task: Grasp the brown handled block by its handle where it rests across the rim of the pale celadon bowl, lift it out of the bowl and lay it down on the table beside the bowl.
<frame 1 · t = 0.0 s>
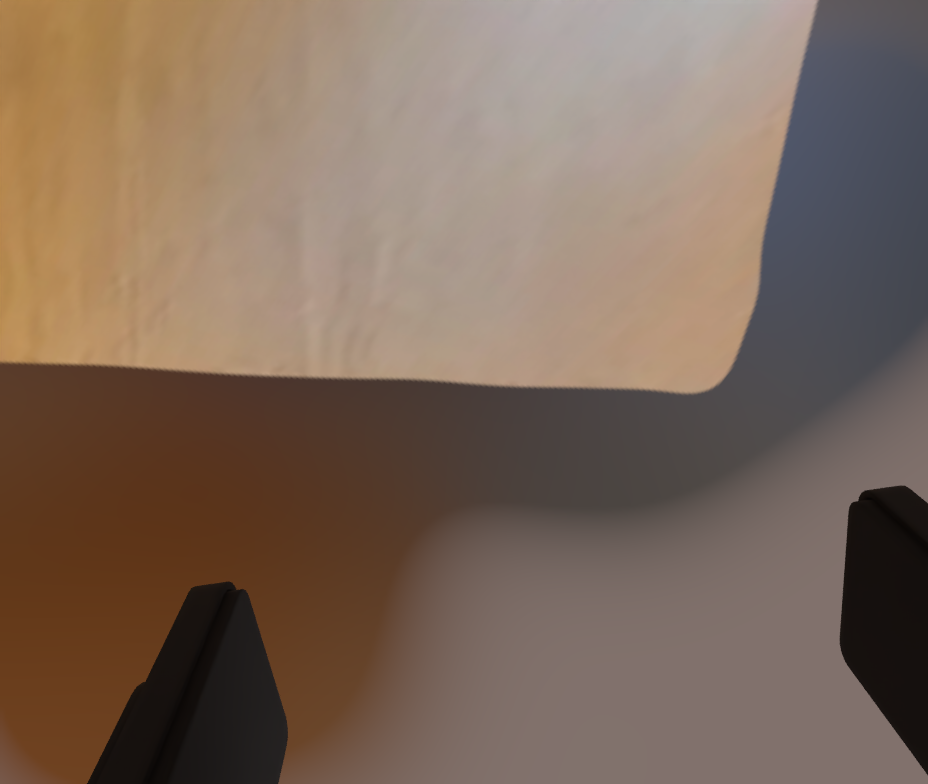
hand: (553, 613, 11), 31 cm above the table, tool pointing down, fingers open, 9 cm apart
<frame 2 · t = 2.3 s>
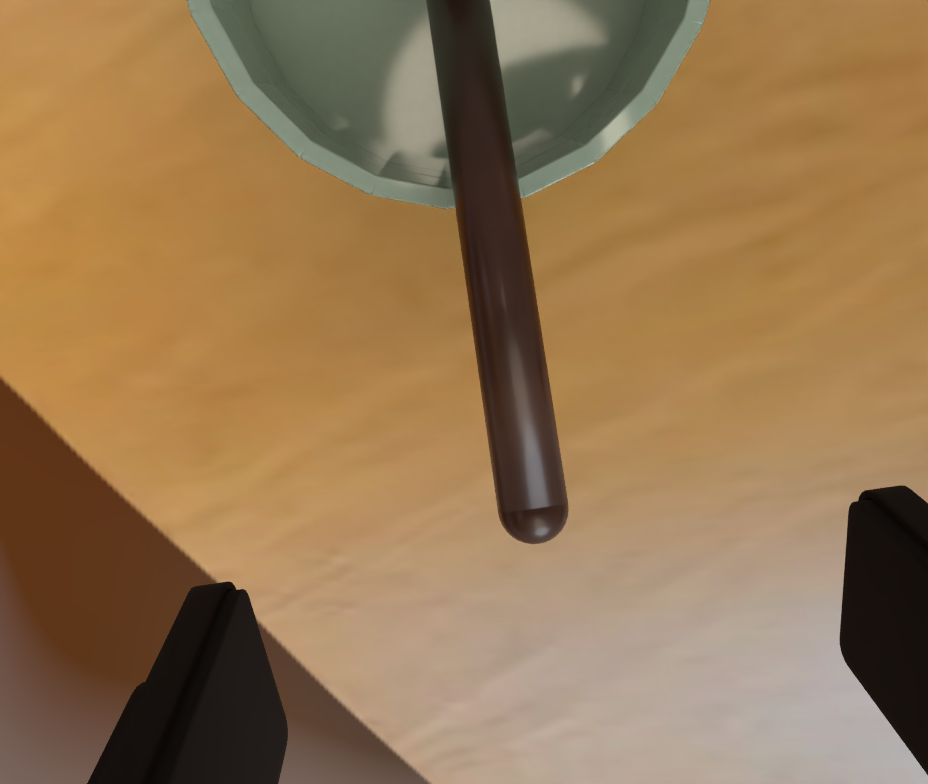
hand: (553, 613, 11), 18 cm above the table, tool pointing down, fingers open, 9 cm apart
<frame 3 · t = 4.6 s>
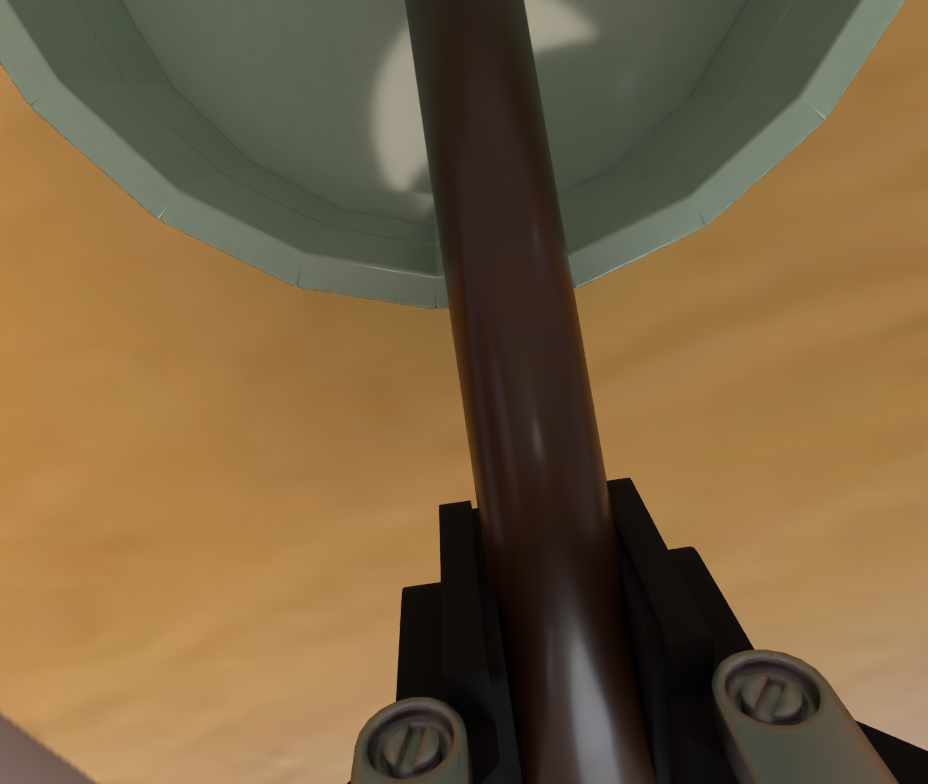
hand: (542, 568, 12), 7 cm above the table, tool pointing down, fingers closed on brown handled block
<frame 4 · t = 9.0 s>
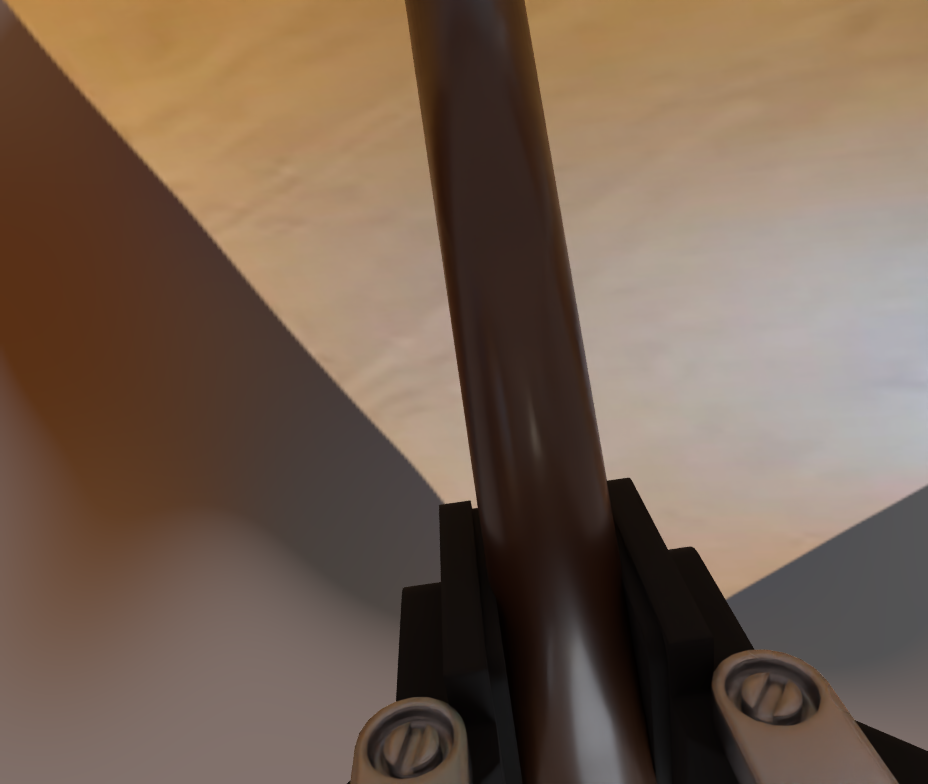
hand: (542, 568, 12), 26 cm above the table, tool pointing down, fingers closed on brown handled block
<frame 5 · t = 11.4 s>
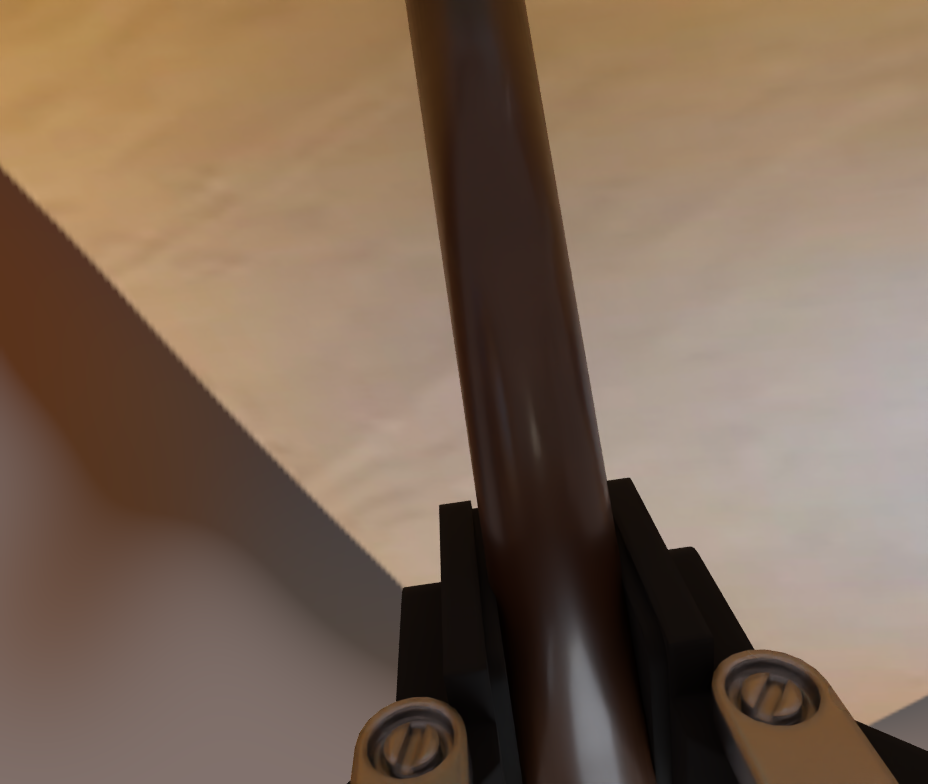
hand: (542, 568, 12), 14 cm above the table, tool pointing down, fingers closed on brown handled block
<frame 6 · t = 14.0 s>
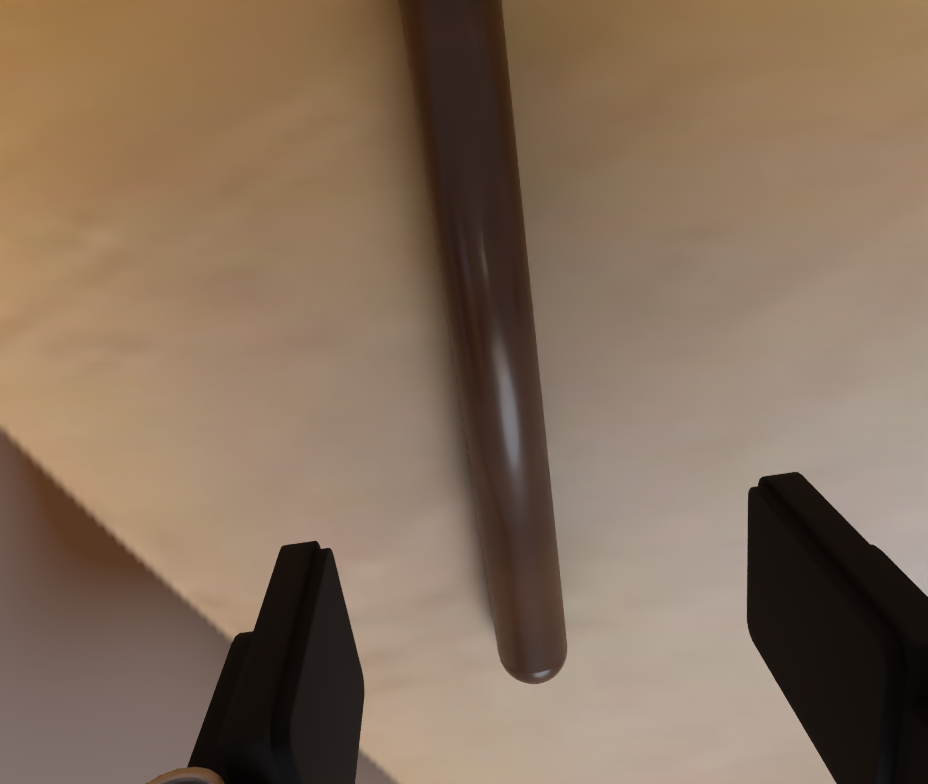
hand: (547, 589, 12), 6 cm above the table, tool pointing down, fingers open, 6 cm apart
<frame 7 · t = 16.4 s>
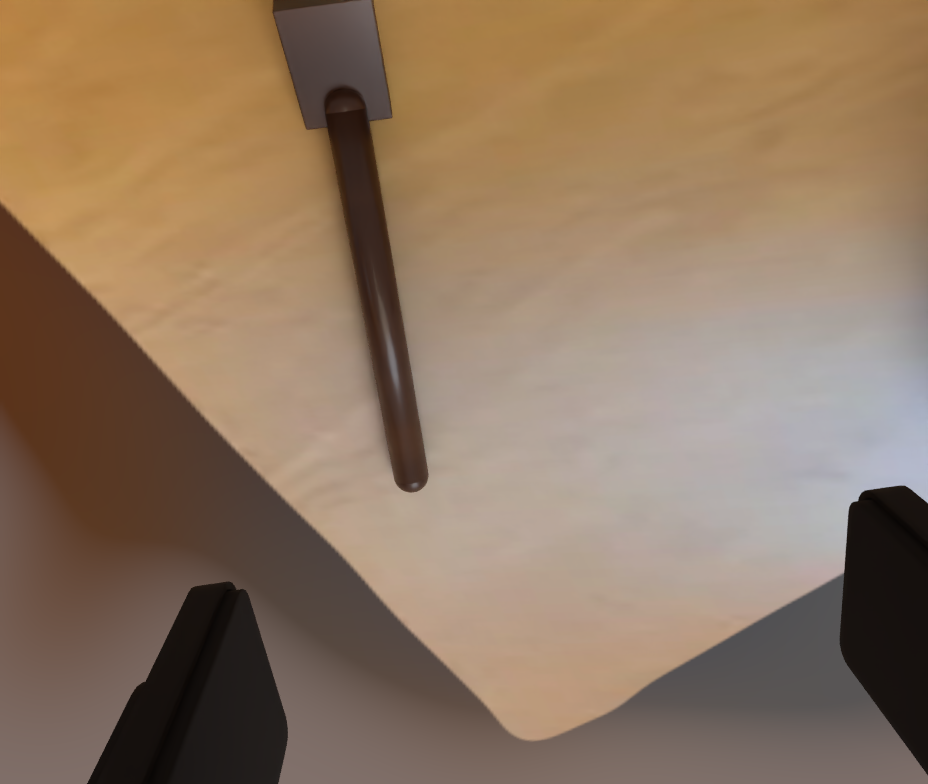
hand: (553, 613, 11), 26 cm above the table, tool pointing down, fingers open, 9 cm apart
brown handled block: (336, 55, 31), point 1 cm above the table, tilted 33°
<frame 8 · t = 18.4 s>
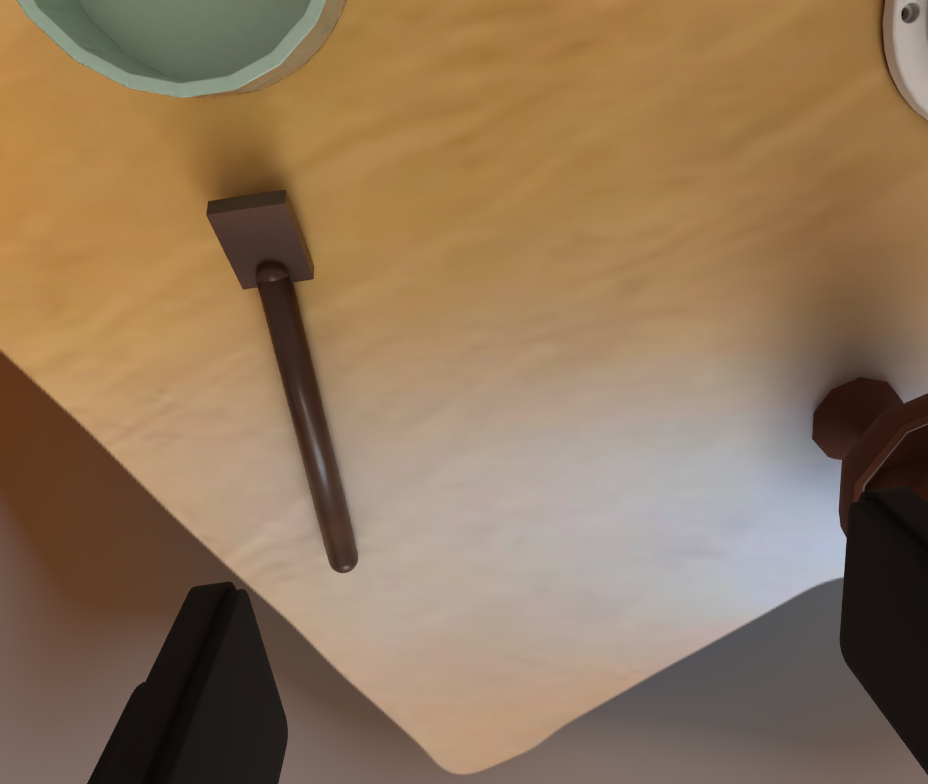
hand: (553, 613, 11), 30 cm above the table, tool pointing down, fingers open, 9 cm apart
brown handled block: (263, 235, 37), point 1 cm above the table, tilted 33°
ice cream bowl: (855, 418, 45), on the table
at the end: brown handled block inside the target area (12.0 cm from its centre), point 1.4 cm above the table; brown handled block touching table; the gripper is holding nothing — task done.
